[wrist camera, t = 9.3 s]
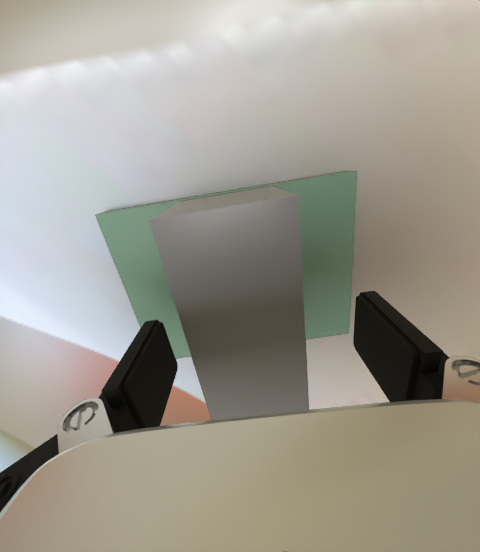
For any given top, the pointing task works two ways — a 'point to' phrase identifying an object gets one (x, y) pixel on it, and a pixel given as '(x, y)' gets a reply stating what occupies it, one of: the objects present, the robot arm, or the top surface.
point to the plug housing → (239, 297)
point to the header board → (314, 250)
